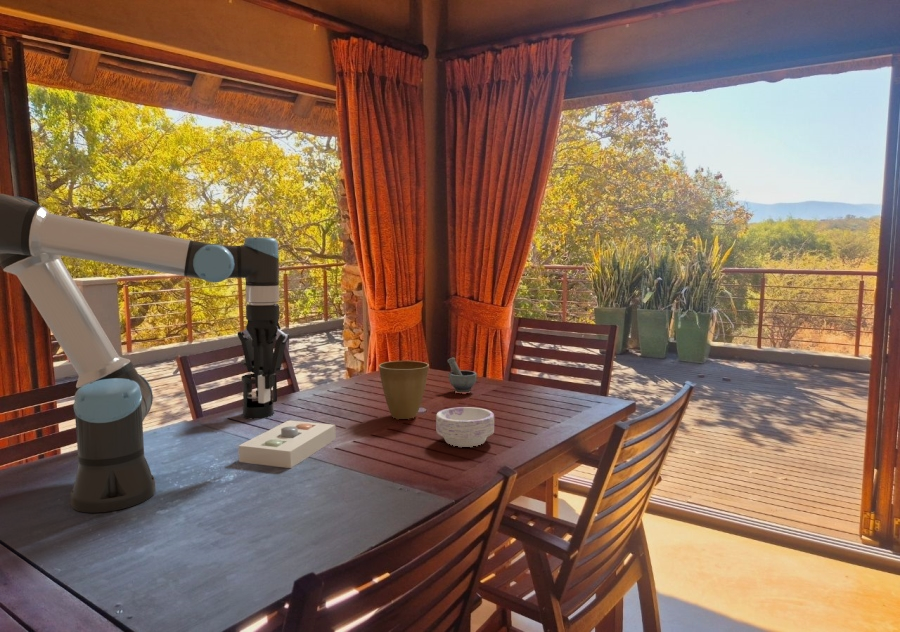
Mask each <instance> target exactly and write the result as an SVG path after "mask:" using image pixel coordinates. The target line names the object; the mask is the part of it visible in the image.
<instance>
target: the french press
mask: <svg viewBox="0 0 900 632" xmlns="http://www.w3.org/2000/svg"><path fill="white" fill-rule="evenodd" d="M240 363H241V365H242V367H243V368H245V367H246V368H247V365H246V361H245V358H244V359H241V360H240ZM240 379H241V383H242V396H243V397H242V402H243V404H242V413H241V416H242V418H244V419H248V418H252V419H251V420H255V419H254V418H260V419H265V418H264V417H266V418H269V417H268V416H270V417H272V416H273V414H274V415H275V411H274V403H276V402H278V387H277V386H278V385H277V384H278V383H277V382H278V381H277V379H278V378H277V373H274V374H273V387H272V388H270V401H268V402H266V403H258V388H256V390H255V391H253V390H252V389H253V388H252V387H253V385H252V384H254V385H255V384H256V383H255V374H254V373H253V372H252V373H248V374H247V373H246V374H244V375H242V376H241V378H240ZM271 415H272V416H271Z"/></svg>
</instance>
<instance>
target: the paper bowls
mask: <svg viewBox="0 0 900 632" xmlns="http://www.w3.org/2000/svg"><path fill="white" fill-rule="evenodd" d="M435 418H436V419H435V425H436V428H435V429H436V430H435V431H436V434H437V435H439V436H441V437H443V439H444V441H445V442H446V444H448V445H449V444H450V445H449V446H452V445H453V446H452V447H455V446H458V447H457V448H462V447H470V448H474V447H473V446H476V447H479V446H478V445H480V446H481V444H482V445H483V444H485V442H486V440H487V438H488V437H490V436H492V435H493V434H494V433H495V413H493V412H492V411H491V410H489V409H486V408H482V407H473V406H472V407H470V406H469V407H468V406H460V407H450V408H445V409H442V410H441V409H440V410H439V411H438V412H436V415H435Z"/></svg>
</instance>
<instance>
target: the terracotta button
mask: <svg viewBox="0 0 900 632" xmlns="http://www.w3.org/2000/svg"><path fill="white" fill-rule="evenodd" d="M296 427H297V428H298V429H302V430H308V429H310V428H312V425H311V424H307V423H305V424H299V425H297V426H296Z"/></svg>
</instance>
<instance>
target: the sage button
mask: <svg viewBox="0 0 900 632" xmlns="http://www.w3.org/2000/svg"><path fill="white" fill-rule="evenodd" d="M280 445H282V440H278V439H274V440H269V441H266V442H265V446H271V447H278V446H280Z"/></svg>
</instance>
